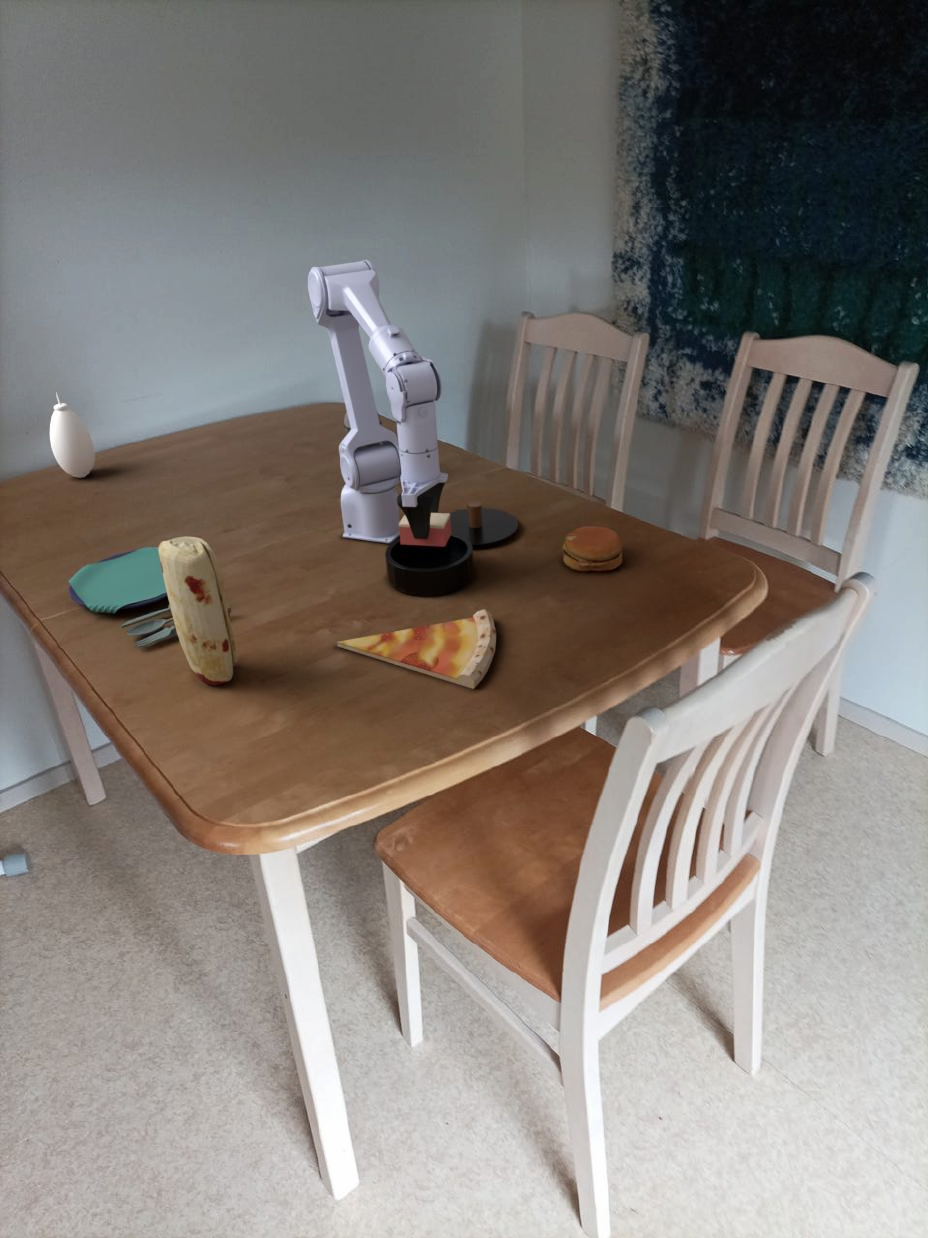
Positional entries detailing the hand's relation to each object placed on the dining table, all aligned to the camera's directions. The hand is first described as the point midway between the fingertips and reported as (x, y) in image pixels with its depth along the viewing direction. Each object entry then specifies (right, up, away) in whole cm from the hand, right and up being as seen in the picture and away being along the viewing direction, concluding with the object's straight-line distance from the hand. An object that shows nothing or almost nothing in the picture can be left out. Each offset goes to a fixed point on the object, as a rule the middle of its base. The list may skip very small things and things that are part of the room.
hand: (425, 531), depth 134 cm
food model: (-28, -21, -16) cm, 38 cm away
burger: (+27, -4, +6) cm, 27 cm away
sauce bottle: (-75, +16, +50) cm, 91 cm away
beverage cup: (-13, +14, +40) cm, 44 cm away
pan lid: (+8, +2, +17) cm, 19 cm away
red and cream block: (0, -1, +1) cm, 1 cm away
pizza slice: (+2, -17, -12) cm, 20 cm away
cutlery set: (-44, -11, +3) cm, 45 cm away
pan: (+1, -7, +4) cm, 8 cm away
